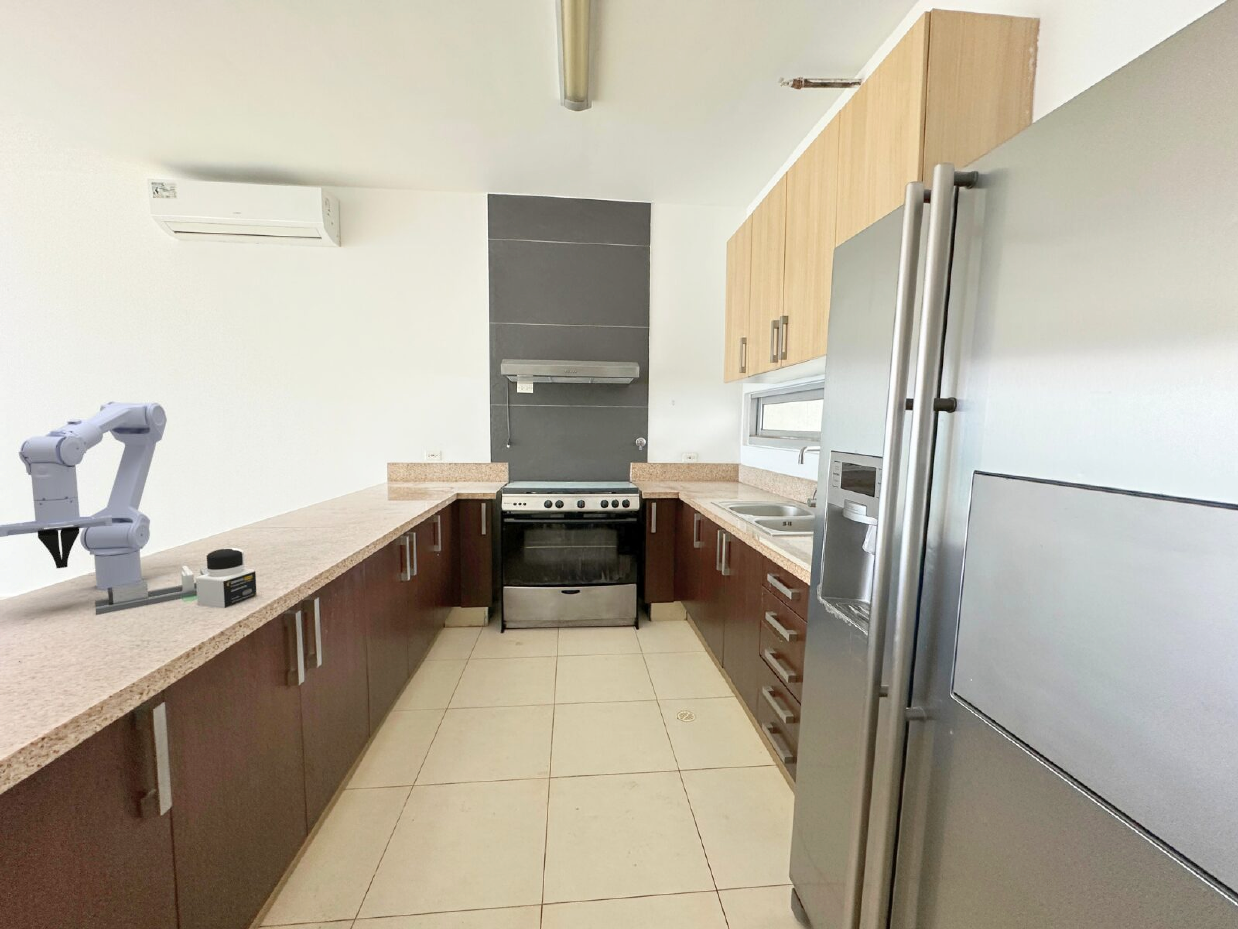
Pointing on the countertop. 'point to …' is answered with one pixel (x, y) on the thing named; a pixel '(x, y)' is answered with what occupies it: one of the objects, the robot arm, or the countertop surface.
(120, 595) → the grey rail carriage
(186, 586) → the off-white rectangular block
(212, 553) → the medicine bottle
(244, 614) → the countertop surface
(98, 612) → the gauge board
